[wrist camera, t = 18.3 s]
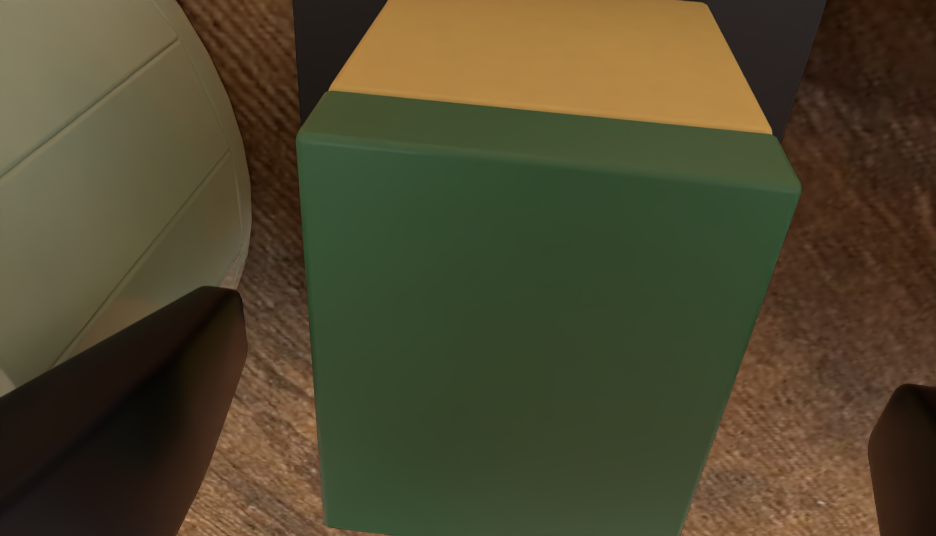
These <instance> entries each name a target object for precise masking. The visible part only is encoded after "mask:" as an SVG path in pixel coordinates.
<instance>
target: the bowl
mask: <svg viewBox="0 0 936 536" xmlns="http://www.w3.org/2000/svg"><path fill="white" fill-rule="evenodd" d="M251 223H252V209H251V184H250V177H249V171H248V166H247V161H246V155H245V150H244V144H243V140H242V136H241V133H240V130H239V127H238V124H237V121H236V118H235V115H234V112H233V108H232V105H231V102H230V99H229V97H228V94H227V92H226V90H225V88H224V86H223V83H222V81H221V79H220V77H219V75H218V73H217V70H216V68H215V66H214V64H213V62H212V59H211V57H210V55H209V53H208V51H207V50H206V48H205V46H204V45H203V43H202V41H201V40H200V38H199V36H198V35H197V33H196V31H195V30H194V28H193V26H192V25H191V23H190V21H189V19H188V18H187V16H186V14H185V13H184V11H183V9H182V8H181V6H180V5H179V4H178V2H177V1H176V0H0V397H1V396H3V395H5V394H7V393H9V392H10V391H12V390H14V389H16V388H18V387H19V386H21V385H23V384H25V383H27V382H29V381H30V380H32V379H34V378H36V377H38V376H39V375H41V374H43V373H45V372H47V371H48V370H50V369H52V368H54V367H56V366H57V365H59V364H61V363H63V362H65V361H66V360H68V359H70V358H72V357H74V356H75V355H77V354H79V353H81V352H83V351H84V350H86V349H88V348H90V347H92V346H94V345H95V344H97V343H99V342H101V341H103V340H104V339H106V338H108V337H110V336H112V335H113V334H115V333H117V332H119V331H121V330H122V329H124V328H126V327H128V326H130V325H131V324H133V323H135V322H137V321H139V320H140V319H142V318H144V317H146V316H148V315H149V314H151V313H153V312H155V311H157V310H159V309H160V308H162V307H164V306H166V305H168V304H169V303H171V302H173V301H175V300H177V299H178V298H180V297H182V296H184V295H186V294H187V293H189V292H191V291H193V290H195V289H196V288H199V287H201V286H216V287H223V288H230V289H235V290H236V289H237V287H238V285H239V282H240V279H241V275H242V272H243V269H244V265H245V262H246V258H247V255H248V249H249V240H250V232H251Z"/></svg>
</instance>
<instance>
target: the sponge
mask: <svg viewBox="0 0 936 536" xmlns="http://www.w3.org/2000/svg"><path fill="white" fill-rule="evenodd" d="M296 152H297V165H298V179H299V192H300V206H301V219H302V233H303V246H304V260H305V273H306V287H307V300H308V314H309V328H310V341H311V355H312V368H313V382H314V395H315V409H316V422H317V436H318V449H319V463H320V476H321V490H322V503H323V517H324V524H325V525H326V526H328V527H331V528H339V529H346V530H354V531H362V532H370V533H377V534H385V535H393V536H680V535H681V532H682V529H683V526H684V523H685V521H686V518H687V515H688V512H689V509H690V506H691V504H692V501H693V498H694V495H695V492H696V489H697V487H698V484H699V481H700V478H701V475H702V472H703V470H704V467H705V464H706V461H707V458H708V455H709V453H710V450H711V447H712V444H713V441H714V438H715V436H716V433H717V430H718V427H719V424H720V421H721V418H722V416H723V413H724V410H725V407H726V404H727V401H728V399H729V396H730V393H731V390H732V387H733V384H734V382H735V379H736V376H737V373H738V370H739V367H740V365H741V362H742V359H743V356H744V353H745V350H746V348H747V345H748V342H749V339H750V336H751V333H752V331H753V328H754V325H755V322H756V319H757V316H758V314H759V311H760V308H761V305H762V302H763V299H764V296H765V294H766V291H767V288H768V285H769V282H770V279H771V277H772V274H773V271H774V268H775V265H776V262H777V260H778V257H779V254H780V251H781V248H782V245H783V243H784V240H785V237H786V234H787V231H788V228H789V226H790V223H791V220H792V217H793V214H794V211H795V209H796V206H797V203H798V200H799V197H800V194H801V192H802V188H801V183H800V181H799V179H798V177H797V175H796V173H795V171H794V170H793V168H792V166H791V164H790V162H789V160H788V158H787V156H786V154H785V152H784V150H783V148H782V147H781V145H780V143H779V141H778V139H777V137H775V136H773V135H772V129H771V127H770V125H769V123H768V121H767V119H766V118H765V116H764V114H763V112H762V110H761V108H760V106H759V104H758V102H757V100H756V98H755V96H754V94H753V92H752V91H751V89H750V87H749V85H748V83H747V81H746V79H745V77H744V75H743V73H742V71H741V69H740V67H739V65H738V64H737V62H736V60H735V58H734V56H733V54H732V52H731V50H730V48H729V46H728V44H727V42H726V40H725V38H724V37H723V35H722V33H721V31H720V29H719V27H718V25H717V23H716V21H715V19H714V17H713V15H712V13H711V11H710V10H709V8H708V6H707V5H706V4H704V3H702V2H691V1H681V0H388V1H387V3H386V4H385V6H384V7H383V9H382V10H381V12H380V13H379V15H378V16H377V17H376V19H375V20H374V22H373V23H372V25H371V26H370V28H369V29H368V31H367V32H366V34H365V35H364V37H363V38H362V40H361V41H360V43H359V44H358V46H357V47H356V49H355V50H354V52H353V53H352V54H351V56H350V57H349V59H348V60H347V62H346V63H345V65H344V66H343V68H342V69H341V71H340V72H339V74H338V75H337V77H336V78H335V80H334V81H333V83H332V84H331V86H330V88H329V91H328V92H325V93H324V95H323V96H322V98H321V99H320V100H319V102H318V103H317V105H316V106H315V108H314V109H313V111H312V112H311V114H310V115H309V117H308V118H307V120H306V121H305V123H304V124H303V126H302V127H301V129H300V130H299V131H298V133H297V136H296Z"/></svg>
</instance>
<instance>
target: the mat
mask: <svg viewBox="0 0 936 536" xmlns="http://www.w3.org/2000/svg"><path fill="white" fill-rule="evenodd" d="M387 1H388V0H293V15H294V29H295V44H296V59H297V74H298V89H299V104H300V119H301V127H302V126H303V124H304V123H305V121H306V120H307V118H308V117H309V115H310V114H311V112H312V111H313V109H314V108H315V106H316V105H317V103H318V102H319V100H320V99H321V98H322V96H323V95H324V93H325V92H328V91H329V88H330V86H331V84H332V83H333V81H334V80H335V78H336V77H337V75H338V74H339V72H340V71H341V69H342V68H343V66H344V65H345V63H346V62H347V60H348V59H349V57H350V56H351V54H352V53H353V52H354V50H355V49H356V47H357V46H358V44H359V43H360V41H361V40H362V38H363V37H364V35H365V34H366V32H367V31H368V29H369V28H370V26H371V25H372V23H373V22H374V20H375V19H376V17H377V16H378V15H379V13H380V12H381V10H382V9H383V7H384V6H385V4H386V3H387ZM681 1H691V2H702V3H704V4H706V5H707V6H708V8H709V10H710V11H711V13H712V15H713V17H714V19H715V21H716V23H717V25H718V27H719V29H720V31H721V33H722V35H723V37H724V38H725V40H726V42H727V44H728V46H729V48H730V50H731V52H732V54H733V56H734V58H735V60H736V62H737V64H738V65H739V67H740V69H741V71H742V73H743V75H744V77H745V79H746V81H747V83H748V85H749V87H750V89H751V91H752V92H753V94H754V96H755V98H756V100H757V102H758V104H759V106H760V108H761V110H762V112H763V114H764V116H765V118H766V119H767V121H768V123H769V125H770V127H771V129H772V135H773V136H775V137H777V139H778V141H779V143H780V144H781V141H782V137H783V134H784V131H785V128H786V125H787V122H788V119H789V116H790V113H791V110H792V107H793V103H794V100H795V97H796V94H797V91H798V88H799V85H800V82H801V79H802V76H803V73H804V69H805V66H806V63H807V60H808V57H809V54H810V51H811V48H812V45H813V42H814V39H815V35H816V32H817V29H818V26H819V23H820V20H821V17H822V14H823V11H824V8H825V4H826V1H827V0H681Z"/></svg>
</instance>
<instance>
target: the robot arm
mask: <svg viewBox="0 0 936 536" xmlns="http://www.w3.org/2000/svg"><path fill="white" fill-rule="evenodd" d="M247 347H248V345H247V335H246V328H245V320H244V312H243V304H242V299H241V296H240V294H239V292H237V291H236V290H235V289H230V288H223V287H216V286H201V287H199V288H196V289H195V290H193V291H191V292H189V293H187V294H186V295H184V296H182V297H180V298H178V299H177V300H175V301H173V302H171V303H169V304H168V305H166V306H164V307H162V308H160V309H159V310H157V311H155V312H153V313H151V314H149V315H148V316H146V317H144V318H142V319H140V320H139V321H137V322H135V323H133V324H131V325H130V326H128V327H126V328H124V329H122V330H121V331H119V332H117V333H115V334H113V335H112V336H110V337H108V338H106V339H104V340H103V341H101V342H99V343H97V344H95V345H94V346H92V347H90V348H88V349H86V350H84V351H83V352H81V353H79V354H77V355H75V356H74V357H72V358H70V359H68V360H66V361H65V362H63V363H61V364H59V365H57V366H56V367H54V368H52V369H50V370H48V371H47V372H45V373H43V374H41V375H39V376H38V377H36V378H34V379H32V380H30V381H29V382H27V383H25V384H23V385H21V386H19V387H18V388H16V389H14V390H12V391H10V392H9V393H7V394H5V395H3V396H1V397H0V536H176V535H177V533H178V531H179V529H180V527H181V525H182V523H183V521H184V519H185V516H186V514H187V512H188V510H189V508H190V506H191V504H192V502H193V500H194V498H195V496H196V494H197V492H198V490H199V487H200V485H201V483H202V481H203V479H204V476H205V474H206V471H207V469H208V466H209V463H210V461H211V458H212V455H213V453H214V450H215V447H216V444H217V441H218V438H219V436H220V433H221V430H222V427H223V424H224V421H225V419H226V416H227V413H228V410H229V407H230V405H231V402H232V399H233V396H234V393H235V390H236V388H237V385H238V382H239V379H240V376H241V373H242V371H243V368H244V365H245V361H246V357H247ZM868 459H869V465H870V472H871V478H872V485H873V491H874V498H875V504H876V511H877V517H878V524H879V530H880V536H936V387H931V386H924V385H917V384H903V385H900V386H899V387H898V388H897V389H896V390H895V391H894V392H893V394H892V396H891V398H890V399H889V401H888V403H887V405H886V407H885V409H884V411H883V412H882V414H881V416H880V418H879V420H878V422H877V423H876V425H875V427H874V429H873V431H872V433H871V435H870V439H869V443H868Z"/></svg>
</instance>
